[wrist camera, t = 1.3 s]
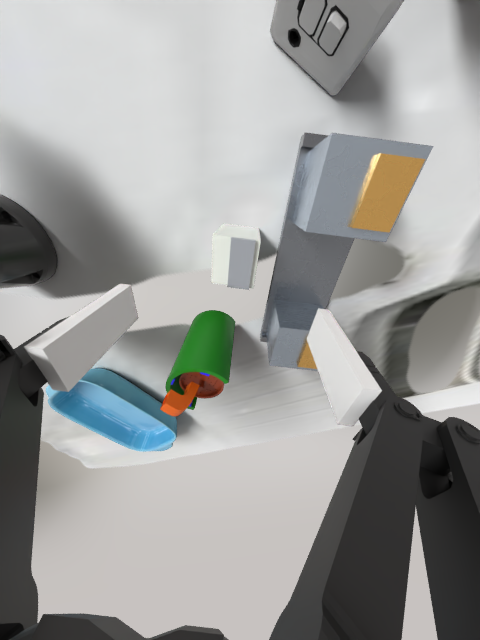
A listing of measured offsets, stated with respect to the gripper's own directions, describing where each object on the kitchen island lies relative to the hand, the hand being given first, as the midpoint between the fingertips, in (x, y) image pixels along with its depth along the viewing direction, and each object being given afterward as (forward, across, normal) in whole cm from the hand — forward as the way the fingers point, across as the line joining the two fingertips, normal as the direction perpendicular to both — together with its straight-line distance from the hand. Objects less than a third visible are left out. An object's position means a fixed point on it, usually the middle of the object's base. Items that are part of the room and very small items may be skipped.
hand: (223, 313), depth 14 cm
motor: (+22, -4, -18) cm, 29 cm away
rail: (+22, +12, -2) cm, 25 cm away
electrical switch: (+22, +6, +22) cm, 32 cm away
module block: (+22, 0, 0) cm, 22 cm away
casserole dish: (+22, -29, -49) cm, 61 cm away
